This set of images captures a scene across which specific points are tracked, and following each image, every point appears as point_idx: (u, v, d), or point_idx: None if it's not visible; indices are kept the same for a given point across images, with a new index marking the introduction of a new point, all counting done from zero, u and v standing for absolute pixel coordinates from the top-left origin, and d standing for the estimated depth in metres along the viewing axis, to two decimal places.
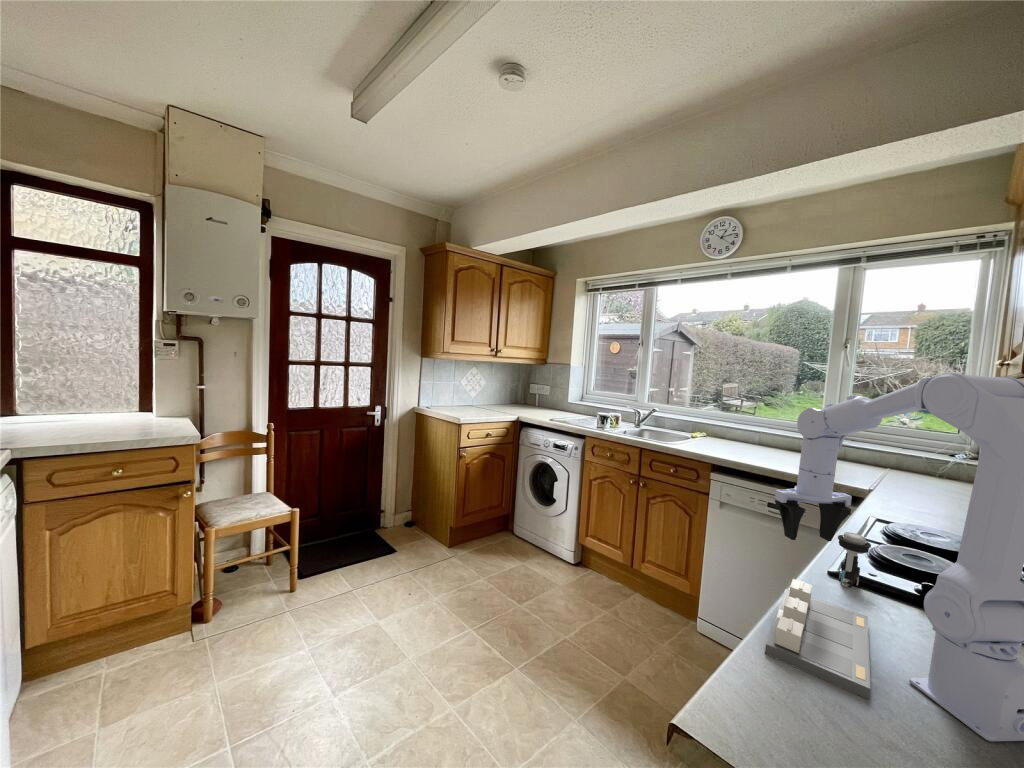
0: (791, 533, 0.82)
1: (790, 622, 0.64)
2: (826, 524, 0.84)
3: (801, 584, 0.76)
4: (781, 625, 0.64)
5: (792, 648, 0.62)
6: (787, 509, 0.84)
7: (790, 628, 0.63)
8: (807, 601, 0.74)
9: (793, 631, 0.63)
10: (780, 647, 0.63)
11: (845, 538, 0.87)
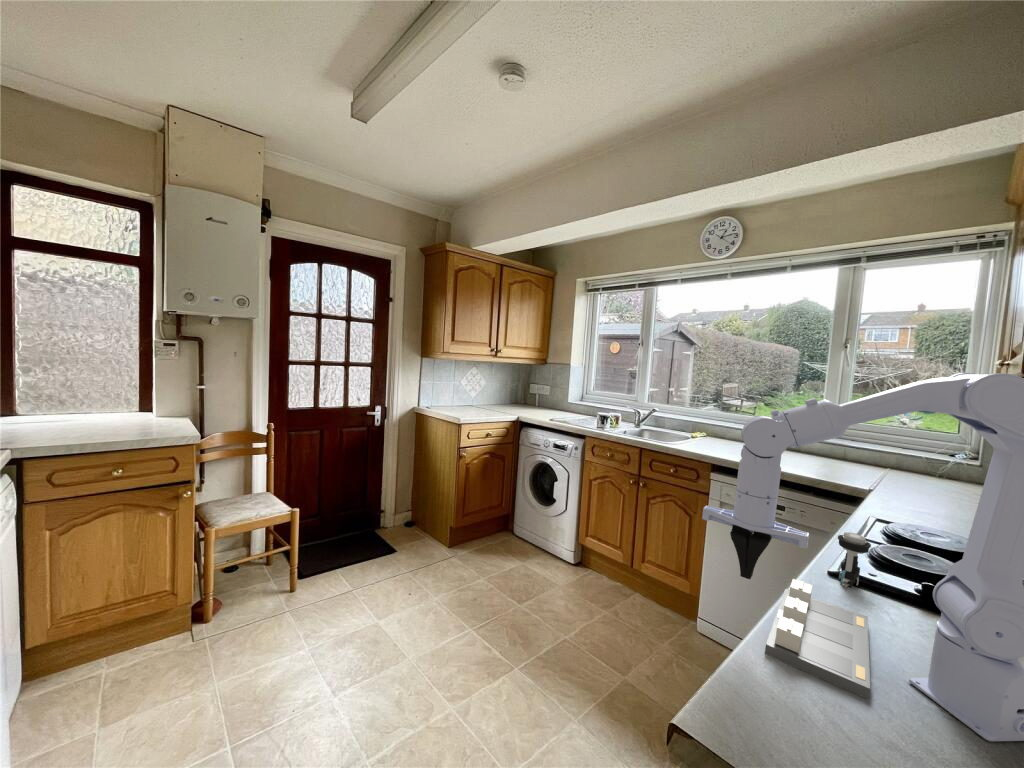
0: None
1: (790, 622, 0.64)
2: None
3: (801, 584, 0.76)
4: (781, 625, 0.64)
5: (792, 648, 0.62)
6: None
7: (790, 628, 0.63)
8: (807, 601, 0.74)
9: (793, 631, 0.63)
10: (780, 647, 0.63)
11: (845, 538, 0.87)
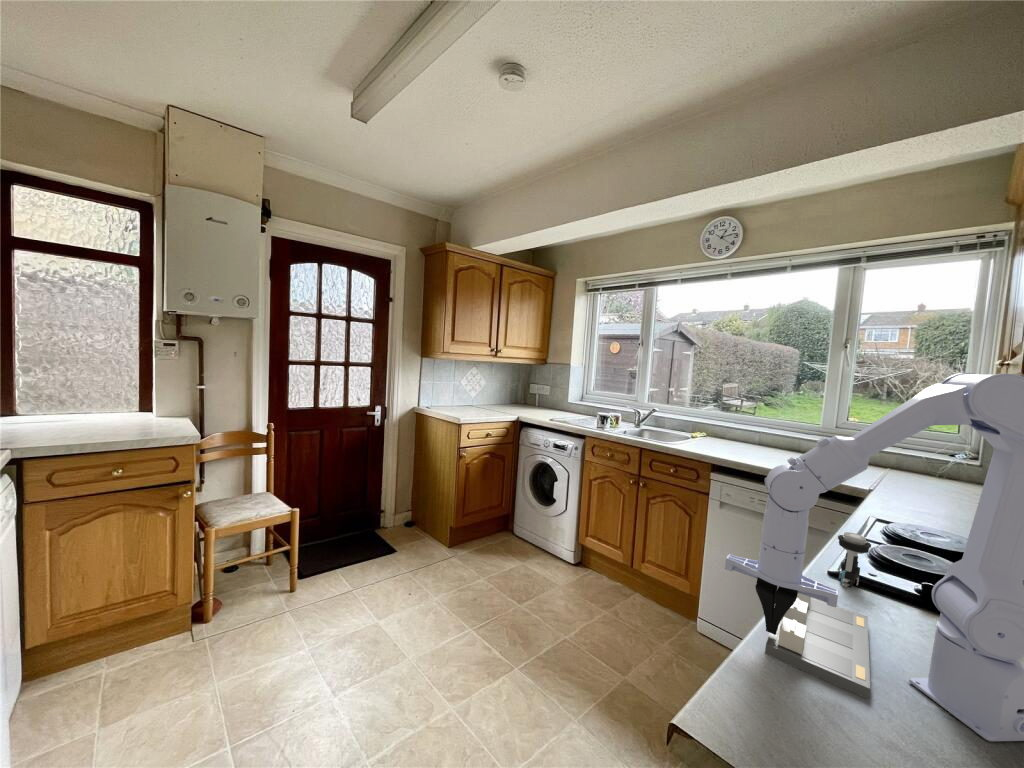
0: (766, 622, 0.65)
1: (793, 623, 0.64)
2: None
3: None
4: (784, 626, 0.64)
5: (795, 649, 0.62)
6: None
7: (793, 629, 0.63)
8: (807, 601, 0.74)
9: (796, 632, 0.62)
10: (780, 647, 0.63)
11: (845, 538, 0.87)
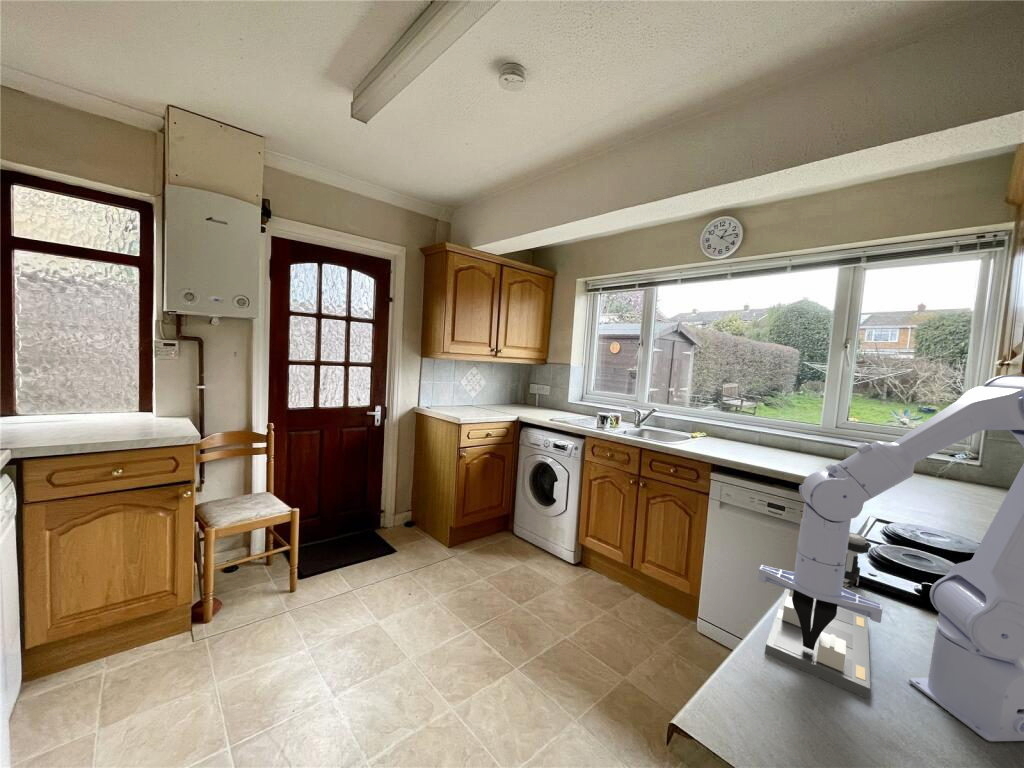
0: None
1: (832, 638, 0.61)
2: None
3: None
4: (823, 641, 0.61)
5: (836, 666, 0.59)
6: None
7: (833, 645, 0.60)
8: None
9: (836, 648, 0.60)
10: (780, 647, 0.63)
11: None
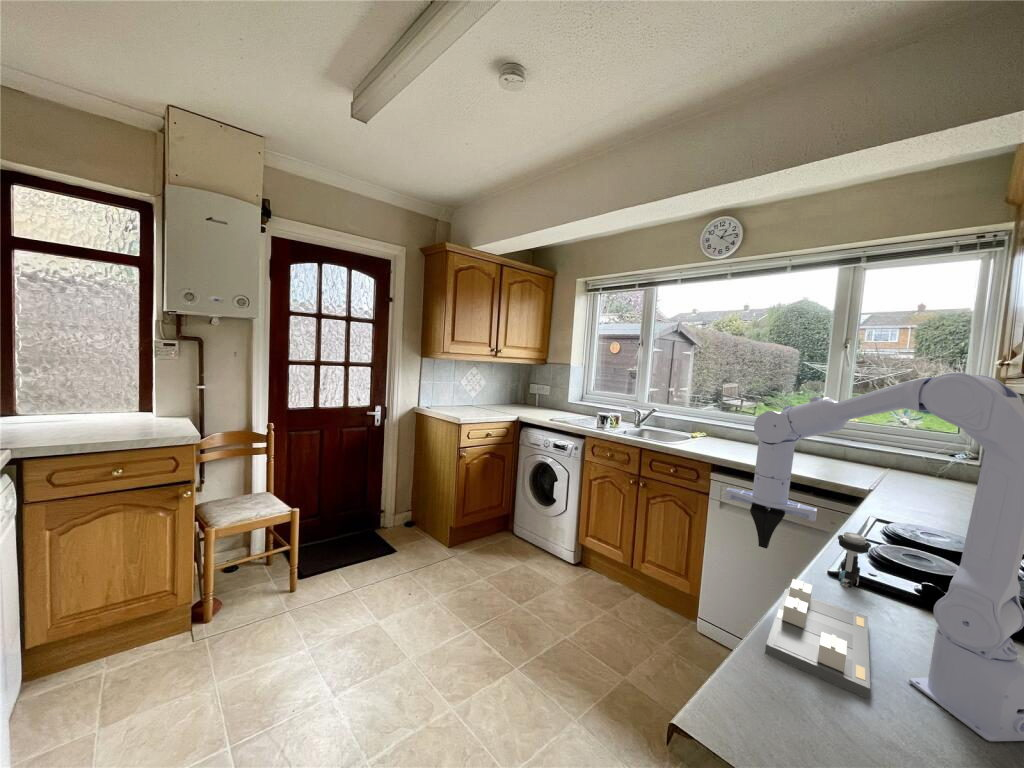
0: (758, 539, 0.80)
1: (833, 639, 0.61)
2: None
3: (801, 584, 0.76)
4: (824, 641, 0.61)
5: (836, 667, 0.59)
6: None
7: (834, 645, 0.60)
8: (807, 601, 0.74)
9: (837, 649, 0.59)
10: (780, 647, 0.63)
11: (845, 538, 0.87)
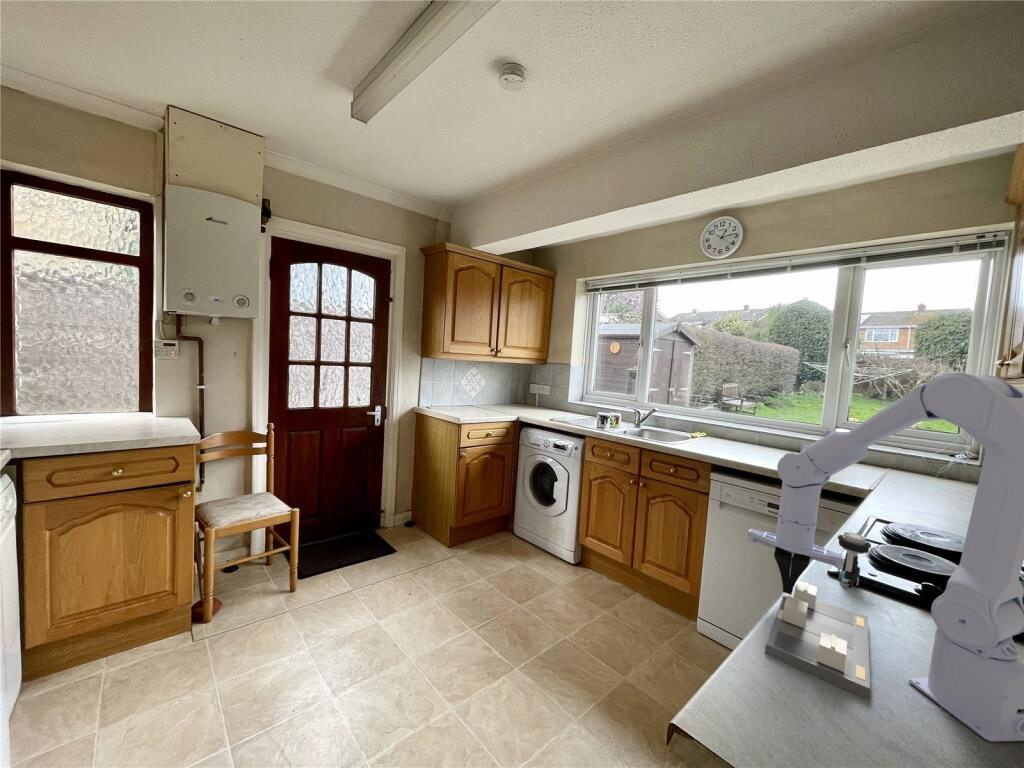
0: None
1: (833, 639, 0.61)
2: None
3: (806, 586, 0.76)
4: (824, 641, 0.61)
5: (836, 667, 0.59)
6: None
7: (834, 645, 0.60)
8: (812, 603, 0.74)
9: (837, 649, 0.59)
10: (780, 647, 0.63)
11: (845, 538, 0.87)
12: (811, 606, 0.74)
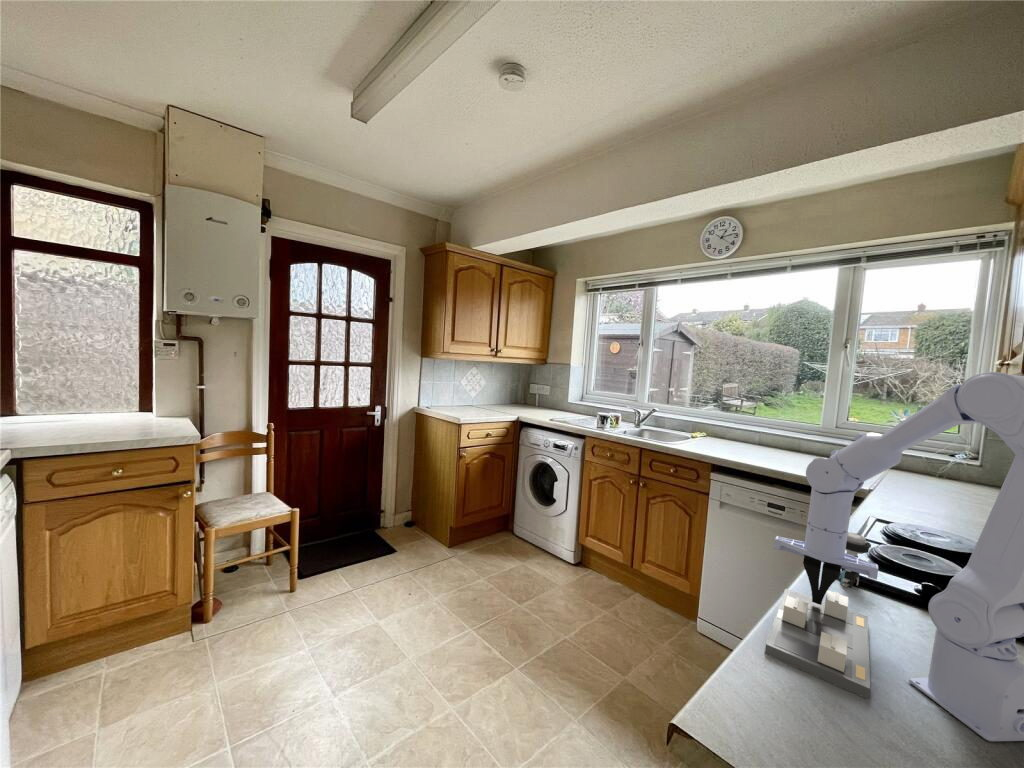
0: (812, 594, 0.75)
1: (833, 639, 0.61)
2: None
3: (837, 596, 0.73)
4: (824, 641, 0.61)
5: (836, 667, 0.59)
6: None
7: (834, 645, 0.60)
8: (844, 614, 0.71)
9: (837, 649, 0.59)
10: (780, 647, 0.63)
11: None
12: (843, 617, 0.71)
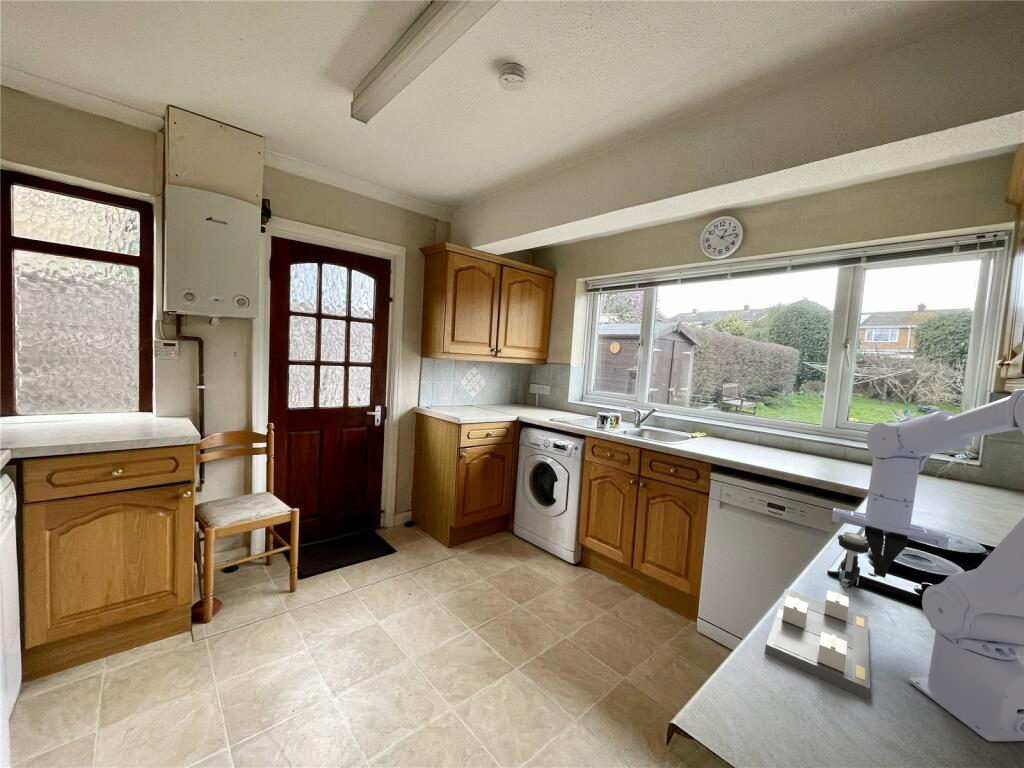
0: (874, 566, 0.72)
1: (833, 639, 0.61)
2: (883, 557, 0.72)
3: (837, 596, 0.73)
4: (824, 641, 0.61)
5: (836, 667, 0.59)
6: None
7: (834, 645, 0.60)
8: (845, 614, 0.71)
9: (837, 649, 0.59)
10: (780, 647, 0.63)
11: (845, 538, 0.87)
12: (843, 618, 0.71)
